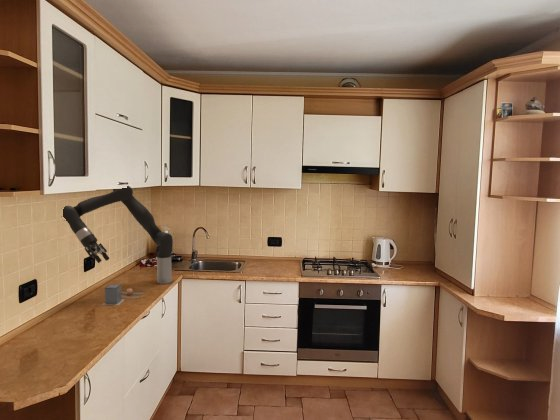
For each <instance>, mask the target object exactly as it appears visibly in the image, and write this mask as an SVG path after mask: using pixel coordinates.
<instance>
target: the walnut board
mask: <svg viewBox="0 0 560 420" xmlns="http://www.w3.org/2000/svg"><path fill="white" fill-rule="evenodd" d="M132 291H133V295H129V296H128V295H127V290H121V299H125V300H126V299H131V300H132V299H135V300H136V299H139V298H140V297H141V296H142V295H143V294H145V292H146V290H132Z"/></svg>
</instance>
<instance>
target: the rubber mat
mask: <svg viewBox="0 0 560 420" xmlns="http://www.w3.org/2000/svg"><path fill="white" fill-rule="evenodd" d="M125 300H126V299H121V301H120V302H119V303H118V304H106V303H105V302H103V303H102V306H119V305H121V304H122V303H123V302H124V301H125Z"/></svg>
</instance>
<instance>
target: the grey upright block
mask: <svg viewBox="0 0 560 420" xmlns="http://www.w3.org/2000/svg"><path fill="white" fill-rule="evenodd" d="M121 292H122V284H108V285H107V286H105V287H104V295H105V296H104V297H105V299H104V301H105V302H104V303H106V304H118V303H119V302H120V301H121Z"/></svg>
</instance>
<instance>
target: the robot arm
mask: <svg viewBox="0 0 560 420" xmlns="http://www.w3.org/2000/svg"><path fill="white" fill-rule="evenodd" d="M133 194H134V192H133V188H132V187H131V186H130V185H128V186H127V188H122V189H113V188H112V191H111V192H109V193H106V194H102V195H98V196H97V195H96V196H94V197H93V196H92V197H90V198H86V199H85V200H82V201H80V202H78V203H77V204H76V206H71V205H65V207H64V206H63V207H64V209H63V217H64V218H65V219H66V221H65V222H67V224H68V225H69V227H70V229H71V231H72V232H73V233H74V235H75V237H76V238H77V239H78V241H79V242H80V244H81V245H82V246H83V247H84V250H85V252H86V253H87V255H88V256H89V257H90V258H93V259H94V260H95V261H96V263H98V264H100V263H101V262H102V258H100V256H99V255H101V256H102V257H103V258H104V260H105V261H108V260H109V259H110V257H109V256H108V254H107V252H108V250H107V248H105V247H104V245H103V244H102V243H99V244H98V238H97V236H95V234H94V233H93V232H92V231H91V229H90V228H89V227H88V226H87V225H86V223H85V222H84V221H83V219H82V218H81V217H82V216H84V215H85V214H89V213H90V212H93V211H95V210H97V209H101V208H102V207H106V206H108V205H112V204H114V203H117V202H118V203H119V202H121V203H122V204H123V205H124V206H125V207H126V208H127V210H128V211H129V213H130V214H131V216H133V218H134V219H135V220H136V222H138V224H139V225H140V226H142V229H144V230H145V231H146V232H147V234H148V235H149V237H150V238H151V239H152V241H153V243H154V244H156V246H158V247H159V251H157V252H156V279H157V280H156V281H157V284H160V285H164V284H165V285H166V284H171V283H172V280H173V279H172V276H173V275H172V274H173V273H172V272H173V271H172V253H173V245H174V244H173V241H174V240H173V235H172V234H170V233H168V232H163V231H162V230H161V229H160V228H159V227H158V226H157V225H156V222H155V218H154V216H153V214H152V213H151V211H149V209H148V208H147V207H146V206H145V205H144V204H142V203H141V202H140V201H139V200H138V199H137V198H135V196H134V195H133ZM98 254H99V255H98Z"/></svg>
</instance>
